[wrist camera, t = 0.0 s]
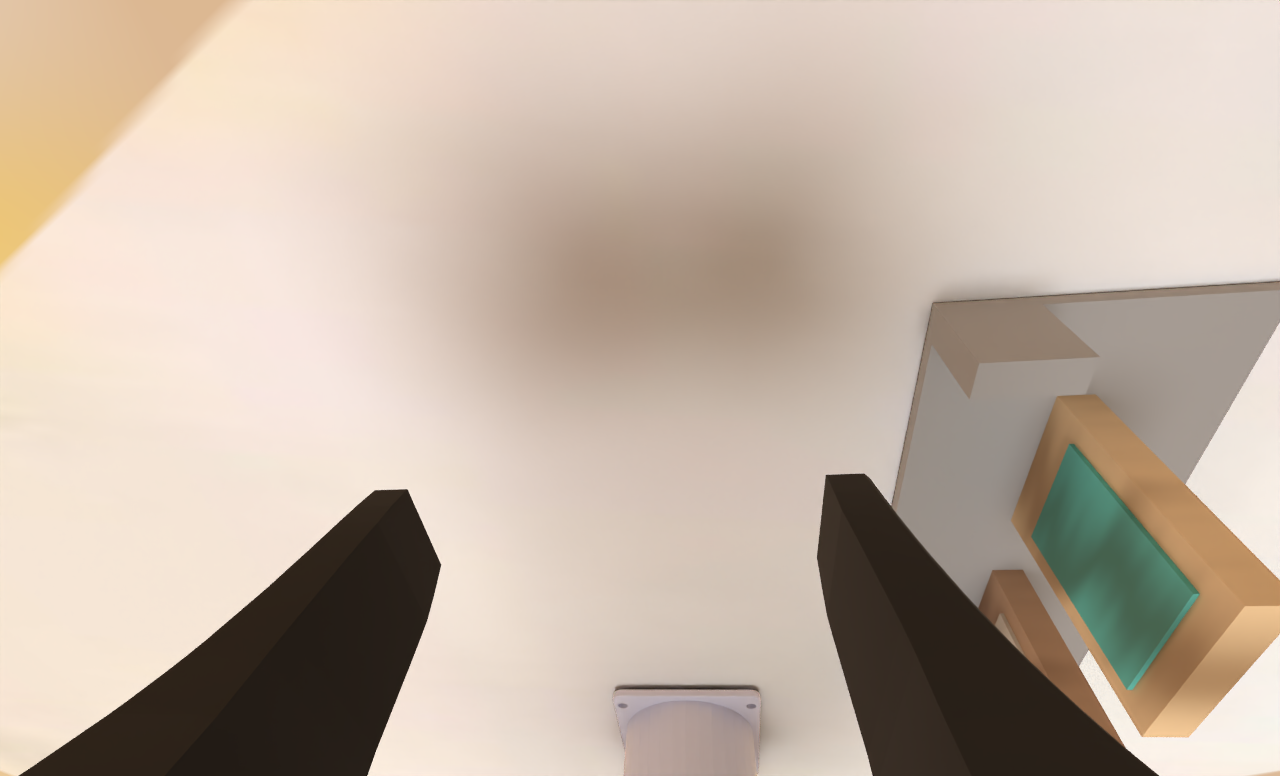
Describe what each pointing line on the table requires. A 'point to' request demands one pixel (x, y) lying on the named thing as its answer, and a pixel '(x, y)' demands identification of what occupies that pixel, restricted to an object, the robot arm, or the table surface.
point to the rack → (1026, 392)
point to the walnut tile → (1038, 639)
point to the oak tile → (1143, 569)
